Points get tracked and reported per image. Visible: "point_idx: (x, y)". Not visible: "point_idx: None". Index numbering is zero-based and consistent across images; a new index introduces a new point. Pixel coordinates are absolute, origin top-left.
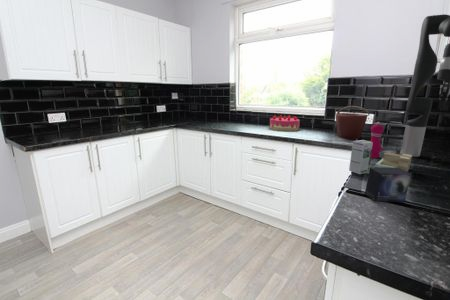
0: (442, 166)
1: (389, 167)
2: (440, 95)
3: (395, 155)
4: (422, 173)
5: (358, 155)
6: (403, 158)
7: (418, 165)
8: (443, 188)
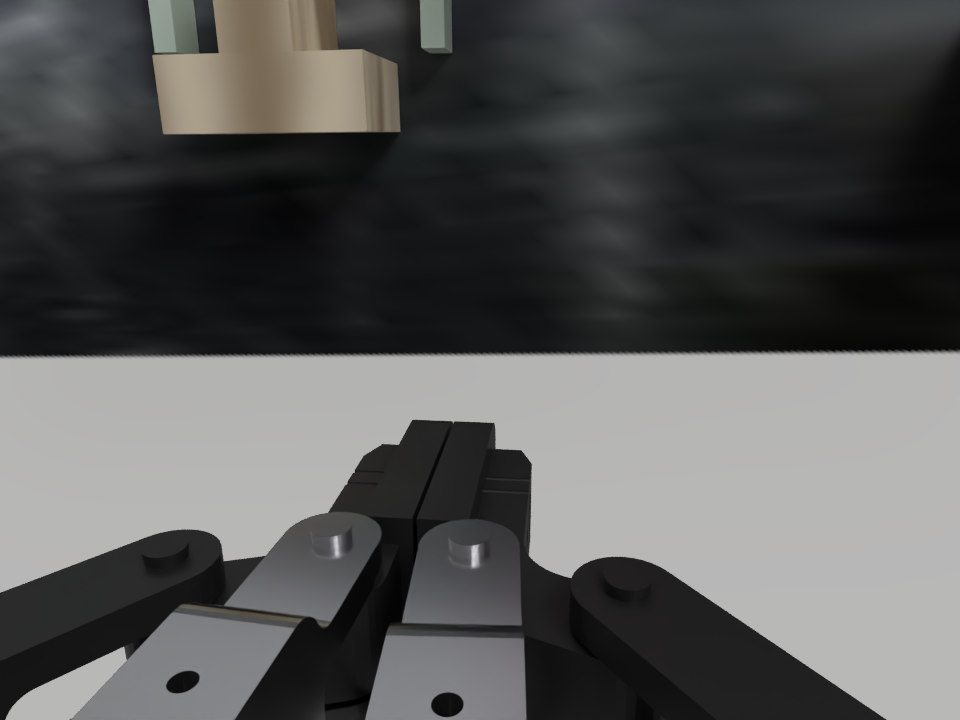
0: (712, 335)
1: (152, 10)
2: (12, 600)
3: (213, 4)
4: (349, 228)
5: None
6: (158, 89)
7: (596, 178)
8: (109, 348)
